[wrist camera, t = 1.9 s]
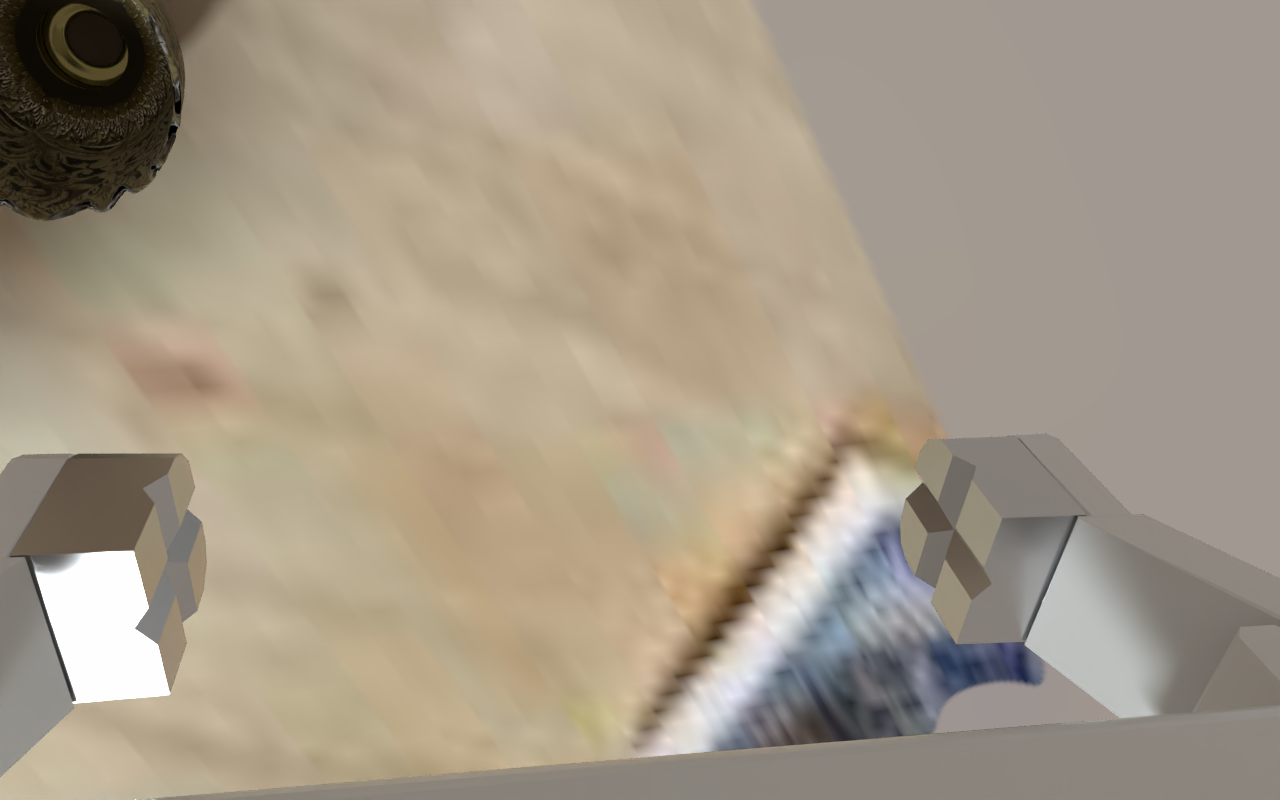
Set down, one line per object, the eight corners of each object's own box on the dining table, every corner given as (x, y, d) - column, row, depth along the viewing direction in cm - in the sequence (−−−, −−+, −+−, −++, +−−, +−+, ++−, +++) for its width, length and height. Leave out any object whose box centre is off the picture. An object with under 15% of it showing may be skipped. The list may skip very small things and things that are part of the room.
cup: (264, 49, 33) (239, 91, 26) (123, 195, 34) (63, 273, 27) (63, -142, 29) (-28, -151, 22) (-89, 29, 30) (-222, 71, 23)
